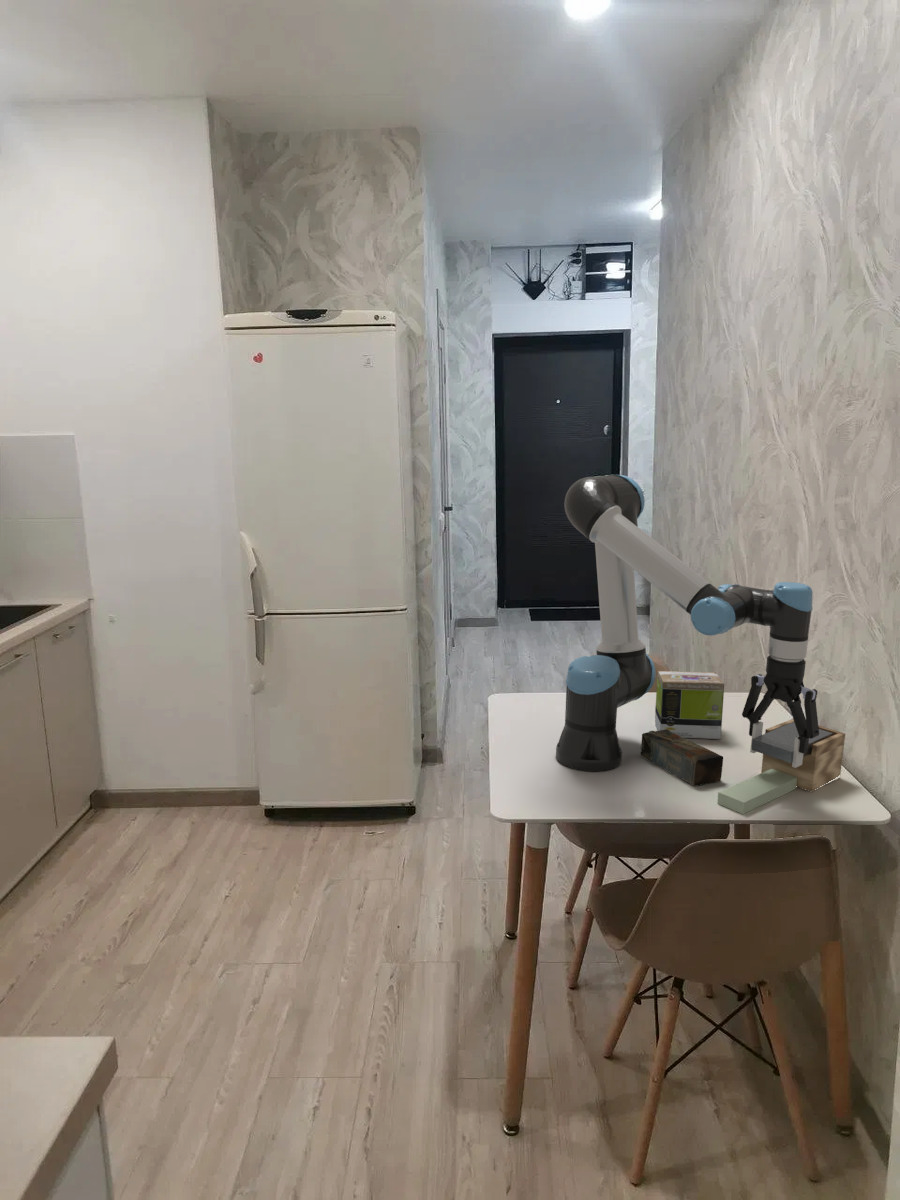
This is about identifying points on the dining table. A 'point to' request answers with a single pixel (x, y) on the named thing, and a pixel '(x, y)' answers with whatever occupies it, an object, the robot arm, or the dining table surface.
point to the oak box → (812, 761)
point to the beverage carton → (682, 757)
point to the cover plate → (784, 742)
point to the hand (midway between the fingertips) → (775, 758)
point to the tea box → (689, 703)
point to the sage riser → (757, 791)
